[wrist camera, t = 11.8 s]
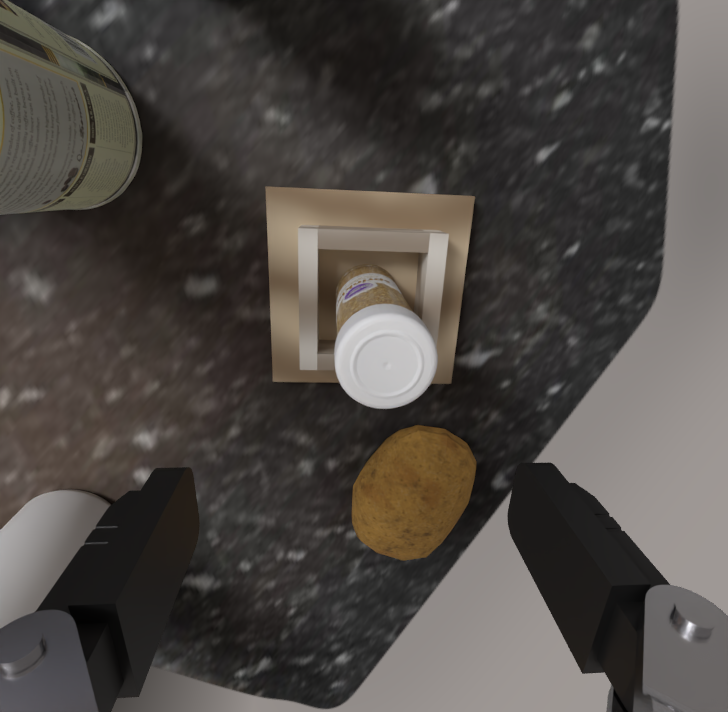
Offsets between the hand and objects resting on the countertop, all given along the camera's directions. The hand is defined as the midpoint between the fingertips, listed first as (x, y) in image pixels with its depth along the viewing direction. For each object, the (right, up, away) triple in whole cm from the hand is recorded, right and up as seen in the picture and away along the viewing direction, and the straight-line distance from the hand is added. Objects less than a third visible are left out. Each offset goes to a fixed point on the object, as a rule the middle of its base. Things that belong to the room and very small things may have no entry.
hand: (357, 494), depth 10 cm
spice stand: (0, +8, +22) cm, 23 cm away
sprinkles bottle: (0, +8, +20) cm, 22 cm away
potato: (+4, -6, +28) cm, 29 cm away
